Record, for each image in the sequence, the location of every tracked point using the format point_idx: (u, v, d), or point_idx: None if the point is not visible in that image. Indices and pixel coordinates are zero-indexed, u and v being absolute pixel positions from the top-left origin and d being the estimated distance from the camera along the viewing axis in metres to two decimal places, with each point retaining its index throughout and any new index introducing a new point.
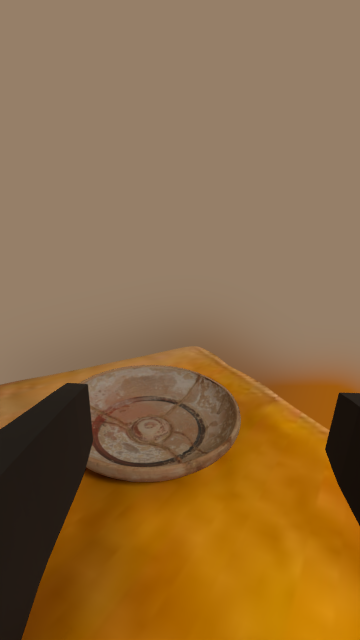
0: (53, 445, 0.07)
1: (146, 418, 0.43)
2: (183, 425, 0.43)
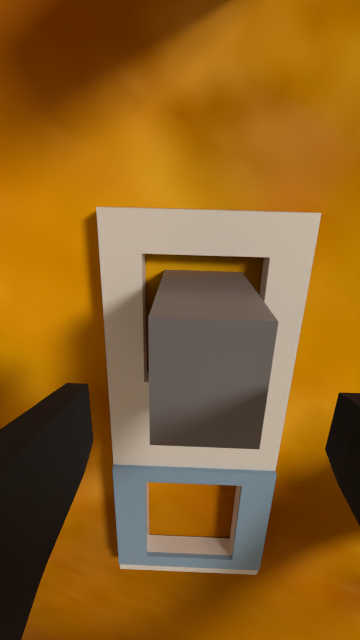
0: (53, 445, 0.07)
1: None
2: None
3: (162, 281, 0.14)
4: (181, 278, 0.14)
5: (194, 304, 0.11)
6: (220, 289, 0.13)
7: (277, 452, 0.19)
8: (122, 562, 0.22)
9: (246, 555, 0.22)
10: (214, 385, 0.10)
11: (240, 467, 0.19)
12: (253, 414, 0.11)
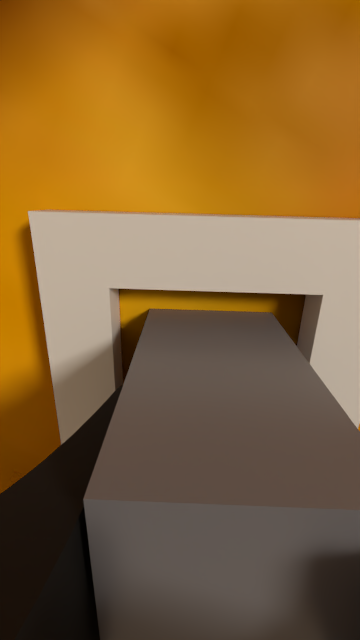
0: None
1: None
2: None
3: (141, 340, 0.08)
4: (175, 331, 0.09)
5: (198, 424, 0.05)
6: (246, 364, 0.07)
7: None
8: None
9: None
10: (245, 621, 0.05)
11: None
12: None
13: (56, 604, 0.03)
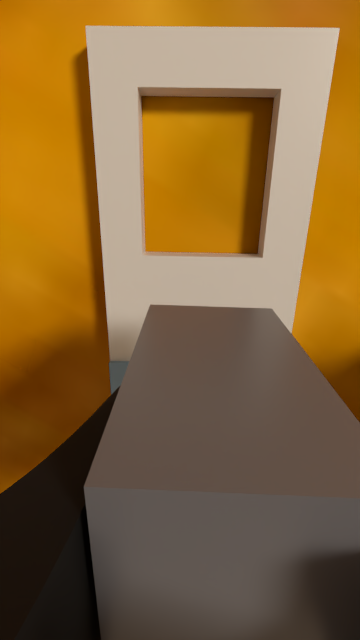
0: None
1: None
2: None
3: (142, 335, 0.08)
4: (175, 326, 0.09)
5: (199, 415, 0.05)
6: (246, 358, 0.07)
7: None
8: None
9: None
10: (244, 612, 0.05)
11: None
12: None
13: (56, 604, 0.03)
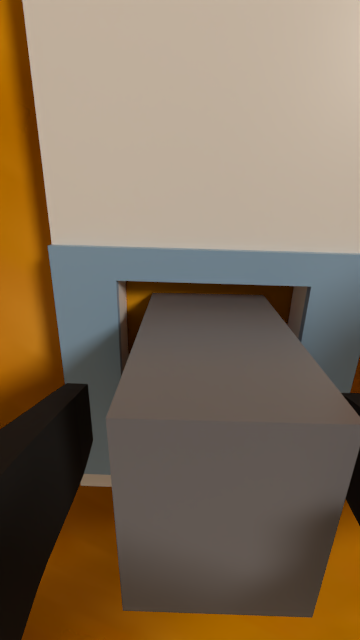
0: (53, 445, 0.07)
1: None
2: None
3: (146, 316, 0.09)
4: (175, 309, 0.10)
5: (195, 372, 0.06)
6: (237, 332, 0.08)
7: None
8: None
9: None
10: (234, 528, 0.06)
11: (309, 245, 0.09)
12: (305, 570, 0.06)
13: None
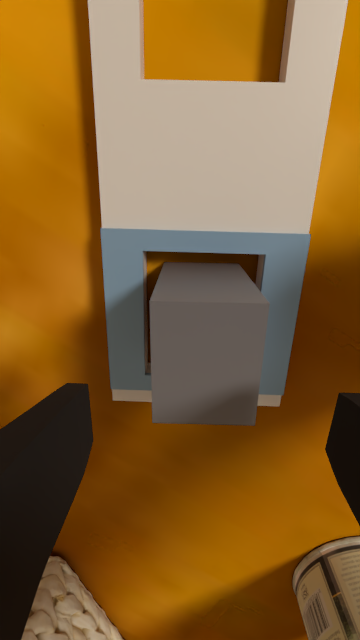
0: (53, 445, 0.07)
1: None
2: None
3: (162, 271, 0.15)
4: (180, 269, 0.15)
5: (191, 290, 0.12)
6: (216, 278, 0.14)
7: (312, 201, 0.15)
8: (114, 386, 0.18)
9: (268, 371, 0.17)
10: (211, 364, 0.11)
11: (264, 228, 0.15)
12: (248, 392, 0.12)
13: None
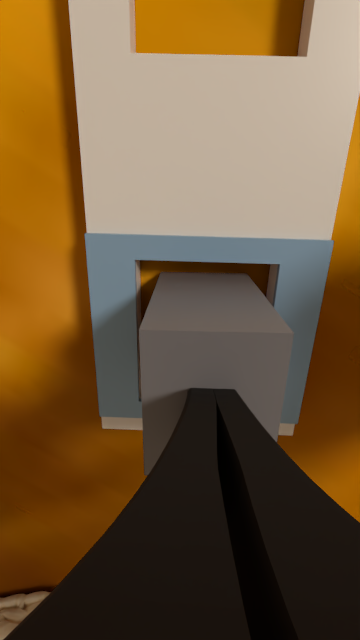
0: None
1: None
2: None
3: (157, 285, 0.12)
4: (179, 281, 0.13)
5: (193, 312, 0.09)
6: (223, 294, 0.11)
7: (336, 202, 0.12)
8: (104, 413, 0.16)
9: None
10: None
11: (278, 233, 0.13)
12: None
13: None
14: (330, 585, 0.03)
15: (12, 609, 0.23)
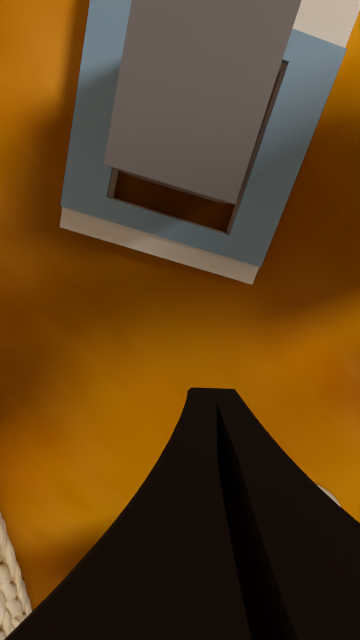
0: None
1: None
2: None
3: None
4: None
5: None
6: None
7: (359, 6, 0.12)
8: (66, 203, 0.15)
9: (251, 230, 0.15)
10: (203, 81, 0.08)
11: (295, 27, 0.12)
12: (240, 143, 0.09)
13: None
14: (329, 586, 0.03)
15: None
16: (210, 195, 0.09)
